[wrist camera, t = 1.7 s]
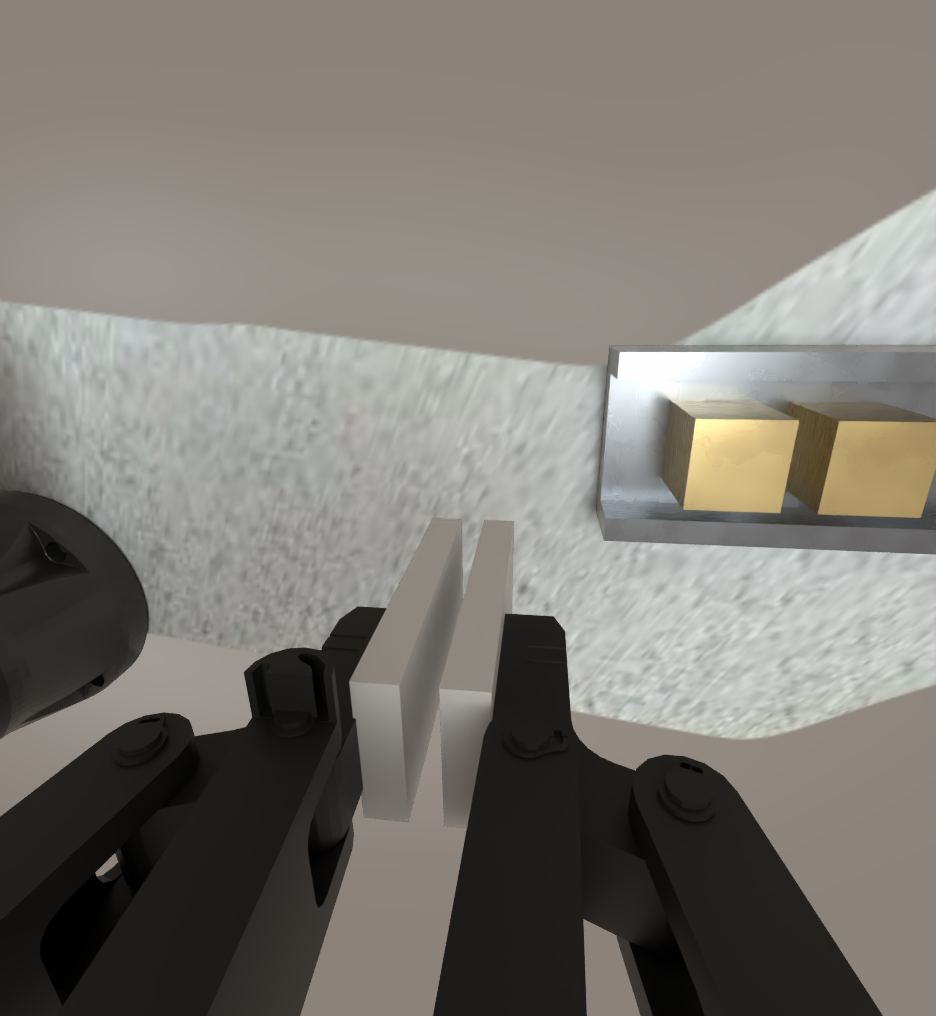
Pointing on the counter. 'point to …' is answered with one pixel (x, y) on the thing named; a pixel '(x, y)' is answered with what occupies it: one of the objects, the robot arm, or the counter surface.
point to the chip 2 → (862, 459)
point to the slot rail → (775, 383)
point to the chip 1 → (728, 455)
